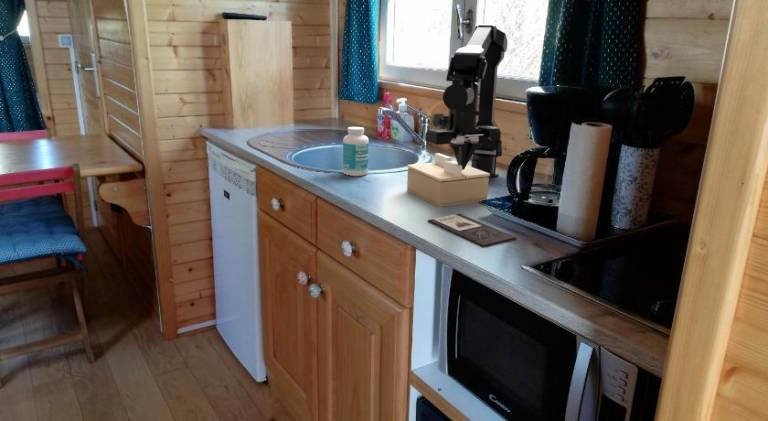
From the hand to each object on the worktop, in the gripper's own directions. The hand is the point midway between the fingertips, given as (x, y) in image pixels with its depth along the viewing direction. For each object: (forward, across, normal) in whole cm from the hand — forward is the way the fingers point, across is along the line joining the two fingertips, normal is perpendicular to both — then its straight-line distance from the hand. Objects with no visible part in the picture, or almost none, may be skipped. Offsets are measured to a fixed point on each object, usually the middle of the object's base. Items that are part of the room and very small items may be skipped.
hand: (461, 169), depth 143 cm
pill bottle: (+8, +13, -35) cm, 38 cm away
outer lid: (+1, +5, -5) cm, 7 cm away
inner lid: (+1, -3, -5) cm, 5 cm away
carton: (+8, +1, -5) cm, 9 cm away
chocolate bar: (+8, +11, +20) cm, 25 cm away
